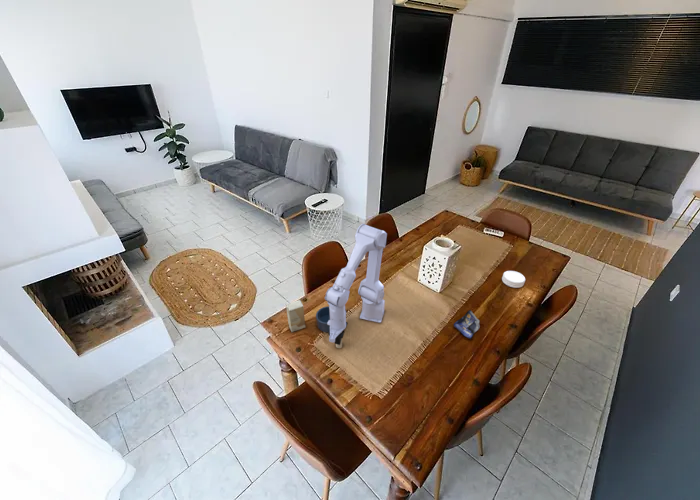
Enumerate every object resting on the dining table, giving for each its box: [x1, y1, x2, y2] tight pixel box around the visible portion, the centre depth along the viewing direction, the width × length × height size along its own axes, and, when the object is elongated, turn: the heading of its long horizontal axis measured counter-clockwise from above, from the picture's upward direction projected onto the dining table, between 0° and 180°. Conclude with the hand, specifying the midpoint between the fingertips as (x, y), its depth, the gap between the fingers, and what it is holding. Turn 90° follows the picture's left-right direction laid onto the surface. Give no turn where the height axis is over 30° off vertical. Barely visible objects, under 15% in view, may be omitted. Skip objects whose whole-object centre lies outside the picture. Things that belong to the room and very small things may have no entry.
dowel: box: [335, 332, 343, 349], centre depth 117 cm, size 3×3×8 cm
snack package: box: [453, 309, 481, 340], centre depth 124 cm, size 12×6×12 cm
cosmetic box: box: [285, 299, 306, 333], centre depth 124 cm, size 6×4×12 cm
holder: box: [315, 305, 330, 333], centre depth 128 cm, size 10×10×5 cm
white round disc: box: [501, 270, 526, 289], centre depth 150 cm, size 10×10×4 cm
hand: (338, 340), depth 118 cm, fingers closed on dowel, 2 cm apart
